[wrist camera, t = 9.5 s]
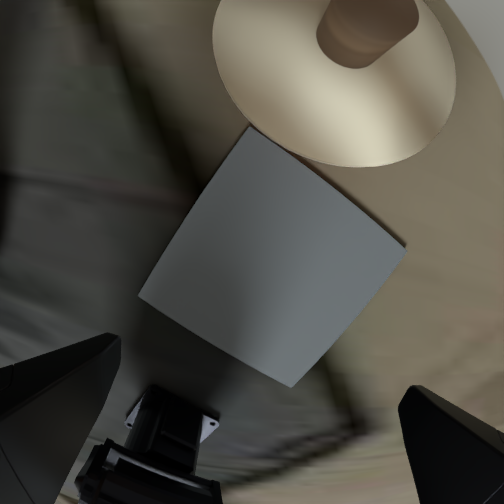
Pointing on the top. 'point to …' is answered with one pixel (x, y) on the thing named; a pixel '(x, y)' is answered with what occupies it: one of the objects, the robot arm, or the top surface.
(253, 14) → the lid
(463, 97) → the top surface
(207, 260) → the mat
